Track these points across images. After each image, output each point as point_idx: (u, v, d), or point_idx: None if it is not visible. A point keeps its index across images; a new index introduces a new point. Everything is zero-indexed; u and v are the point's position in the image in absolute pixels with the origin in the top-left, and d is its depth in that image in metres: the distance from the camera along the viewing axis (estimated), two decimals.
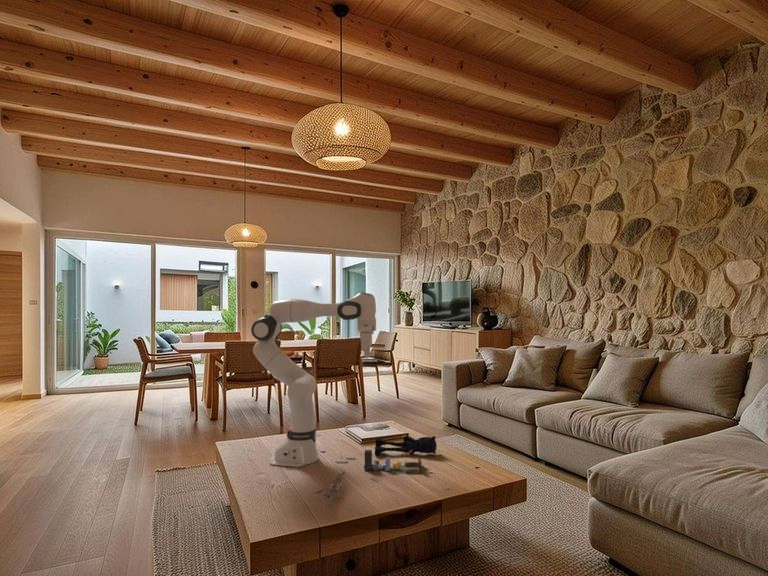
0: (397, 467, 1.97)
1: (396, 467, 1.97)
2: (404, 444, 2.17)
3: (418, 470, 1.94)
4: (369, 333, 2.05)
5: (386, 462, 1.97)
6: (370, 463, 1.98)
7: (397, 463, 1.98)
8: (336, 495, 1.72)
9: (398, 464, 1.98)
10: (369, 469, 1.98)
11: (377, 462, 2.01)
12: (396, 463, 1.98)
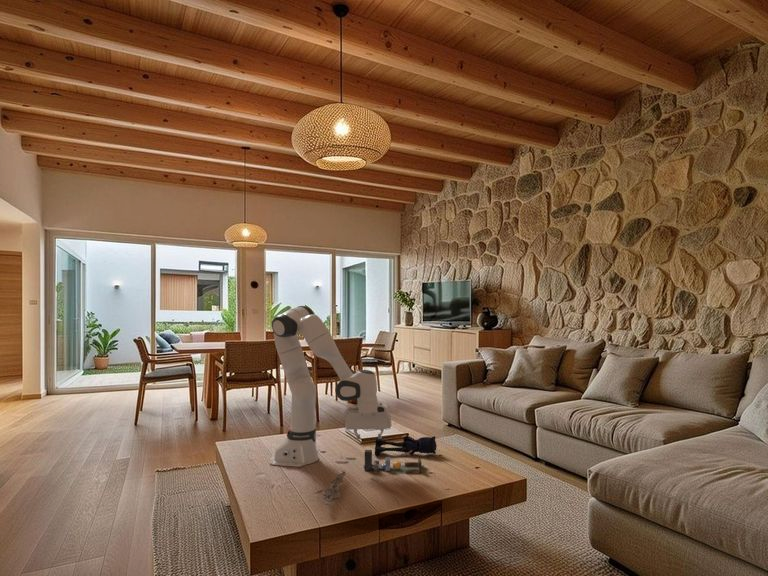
0: (397, 467, 1.97)
1: (396, 467, 1.97)
2: (404, 444, 2.17)
3: (418, 470, 1.94)
4: (387, 410, 2.01)
5: (386, 462, 1.97)
6: (370, 463, 1.98)
7: (397, 463, 1.98)
8: (336, 495, 1.72)
9: (398, 464, 1.98)
10: (369, 469, 1.98)
11: (377, 462, 2.01)
12: (396, 463, 1.98)
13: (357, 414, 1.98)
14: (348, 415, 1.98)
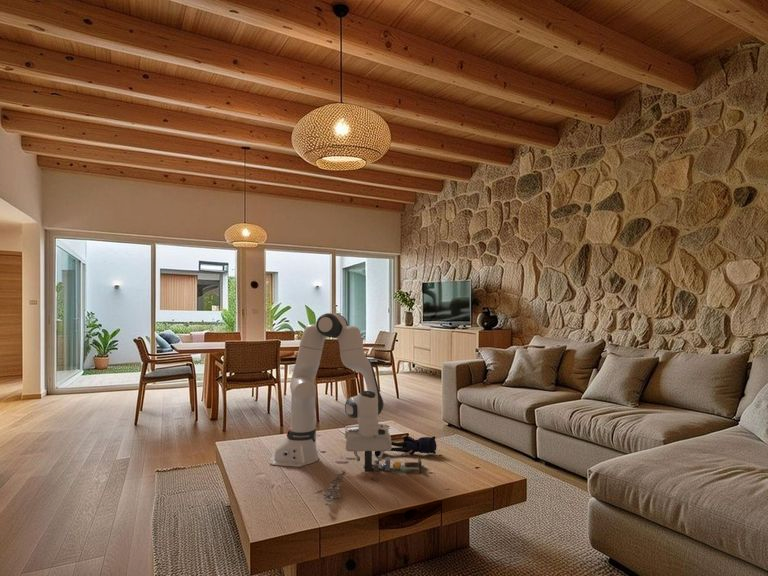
0: (397, 467, 1.97)
1: (396, 467, 1.97)
2: (404, 444, 2.17)
3: (418, 470, 1.94)
4: (388, 433, 2.02)
5: (386, 462, 1.97)
6: (370, 463, 1.98)
7: (397, 463, 1.98)
8: (336, 495, 1.72)
9: (398, 464, 1.98)
10: (369, 469, 1.98)
11: (377, 462, 2.01)
12: (396, 463, 1.98)
13: (358, 436, 1.98)
14: (349, 437, 1.99)
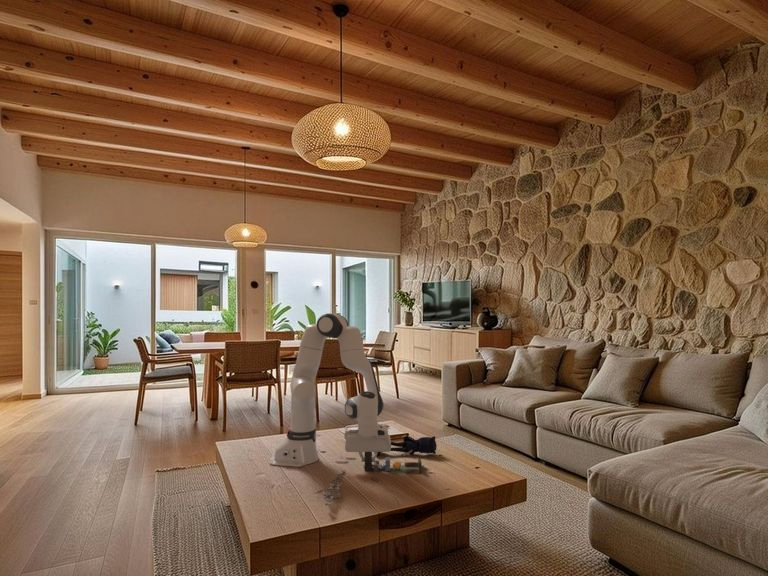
0: (397, 467, 1.97)
1: (396, 467, 1.97)
2: (404, 444, 2.17)
3: (418, 470, 1.94)
4: (387, 433, 2.01)
5: (386, 462, 1.97)
6: (370, 463, 1.98)
7: (397, 463, 1.98)
8: (336, 495, 1.72)
9: (398, 464, 1.98)
10: (369, 469, 1.98)
11: (377, 462, 2.01)
12: (396, 463, 1.98)
13: (358, 436, 1.98)
14: (348, 437, 1.98)
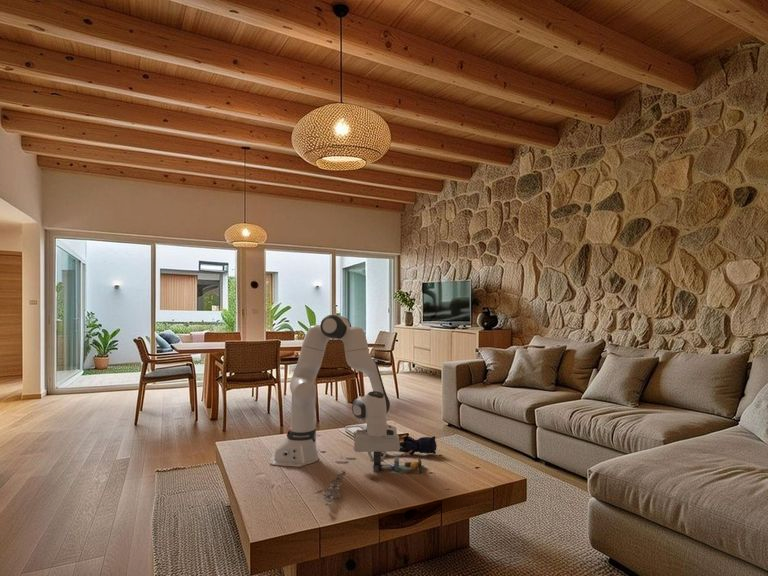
0: (415, 466, 1.97)
1: (415, 466, 1.97)
2: (404, 444, 2.17)
3: (418, 470, 1.94)
4: (396, 433, 2.01)
5: (395, 462, 1.97)
6: (379, 463, 1.98)
7: (412, 467, 1.98)
8: (336, 495, 1.72)
9: (412, 466, 1.98)
10: None
11: None
12: (412, 468, 1.98)
13: (366, 436, 1.98)
14: (357, 437, 1.98)
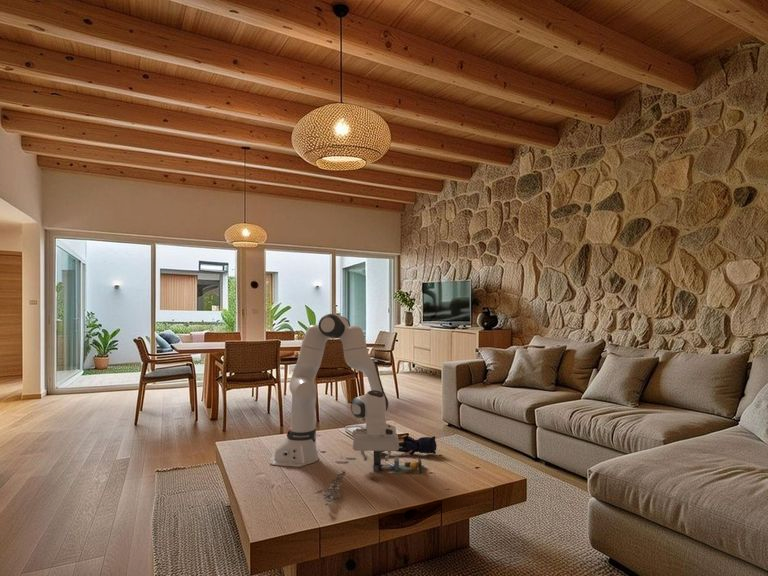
0: (414, 465, 1.97)
1: (414, 466, 1.97)
2: (404, 444, 2.17)
3: (418, 470, 1.94)
4: (395, 433, 2.01)
5: (395, 462, 1.97)
6: (379, 463, 1.98)
7: (411, 467, 1.98)
8: (336, 495, 1.72)
9: (411, 466, 1.98)
10: None
11: None
12: (412, 468, 1.98)
13: (365, 435, 1.98)
14: (356, 436, 1.98)
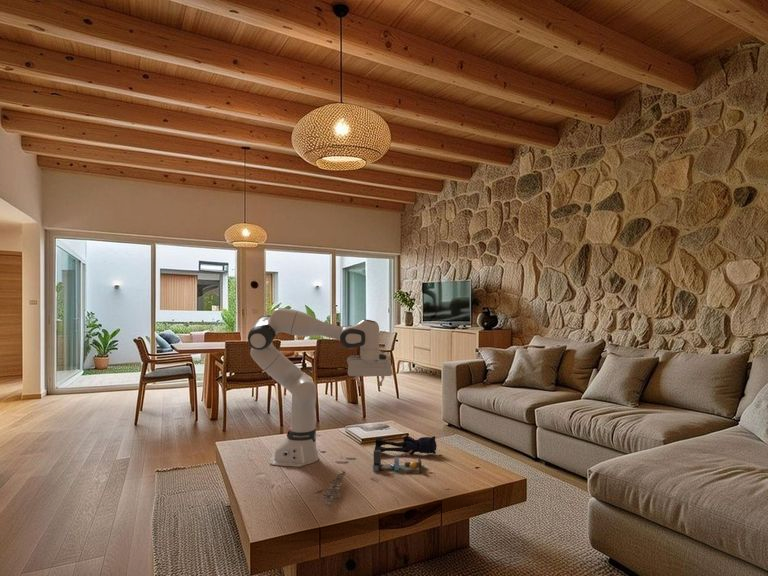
0: (413, 465, 1.97)
1: (414, 466, 1.97)
2: (404, 444, 2.17)
3: (418, 470, 1.94)
4: (389, 360, 2.08)
5: (395, 462, 1.97)
6: (379, 463, 1.98)
7: (411, 468, 1.98)
8: (336, 495, 1.72)
9: (411, 466, 1.98)
10: None
11: None
12: (412, 468, 1.98)
13: (360, 361, 2.05)
14: (351, 362, 2.05)
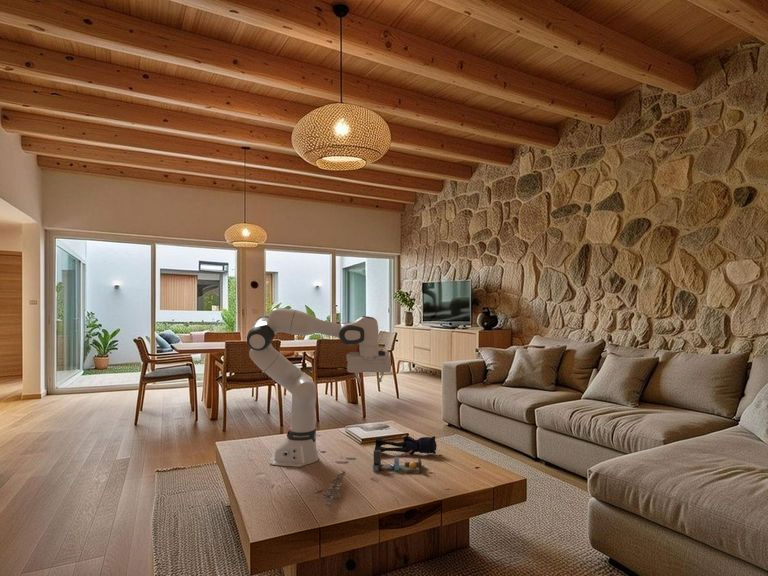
0: (413, 465, 1.97)
1: (413, 466, 1.97)
2: (404, 444, 2.17)
3: (418, 470, 1.94)
4: (388, 356, 2.09)
5: (395, 462, 1.97)
6: (379, 463, 1.98)
7: (411, 468, 1.98)
8: (336, 495, 1.72)
9: (410, 467, 1.98)
10: None
11: None
12: (411, 468, 1.98)
13: (359, 357, 2.06)
14: (350, 358, 2.06)
